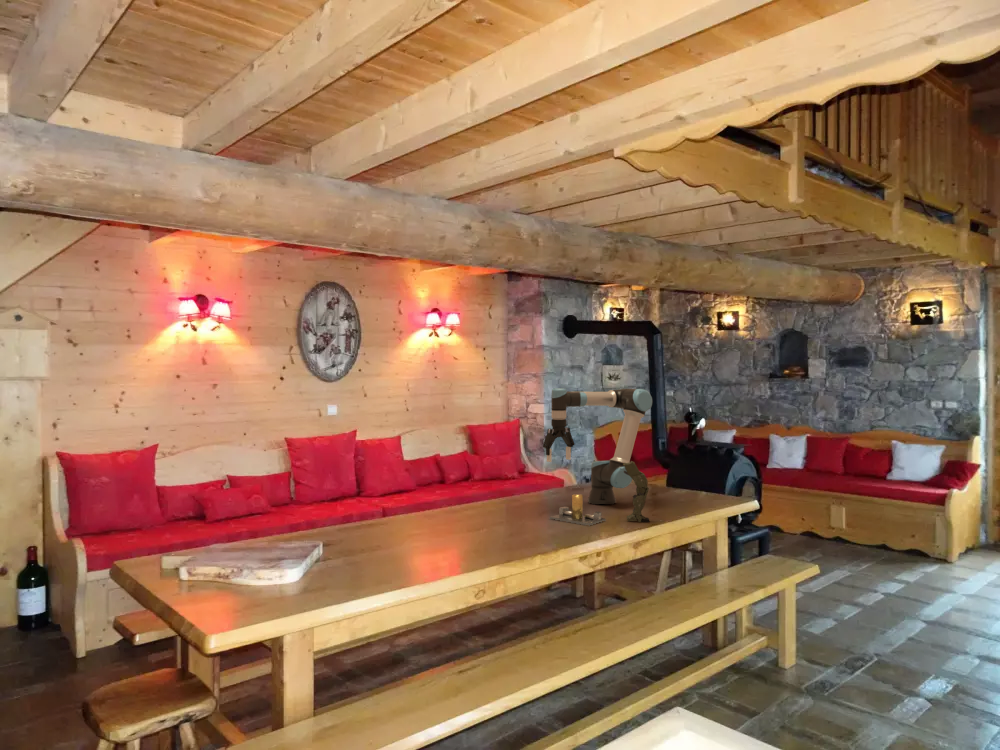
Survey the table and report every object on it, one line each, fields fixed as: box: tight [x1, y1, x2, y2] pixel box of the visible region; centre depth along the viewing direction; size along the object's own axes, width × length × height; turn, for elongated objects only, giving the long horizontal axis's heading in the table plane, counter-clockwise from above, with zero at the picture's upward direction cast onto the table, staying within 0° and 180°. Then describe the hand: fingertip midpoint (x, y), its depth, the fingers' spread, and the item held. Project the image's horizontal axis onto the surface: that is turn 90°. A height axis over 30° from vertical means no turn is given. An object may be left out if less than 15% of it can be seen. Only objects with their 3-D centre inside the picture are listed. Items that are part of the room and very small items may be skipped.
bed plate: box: [549, 506, 607, 527], centre depth 344 cm, size 23×14×5 cm, turn 50°
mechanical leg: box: [623, 460, 651, 523], centre depth 343 cm, size 14×7×30 cm, turn 84°
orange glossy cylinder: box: [571, 493, 584, 519], centre depth 344 cm, size 5×5×11 cm
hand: (558, 460), depth 361 cm, fingers open, 13 cm apart
